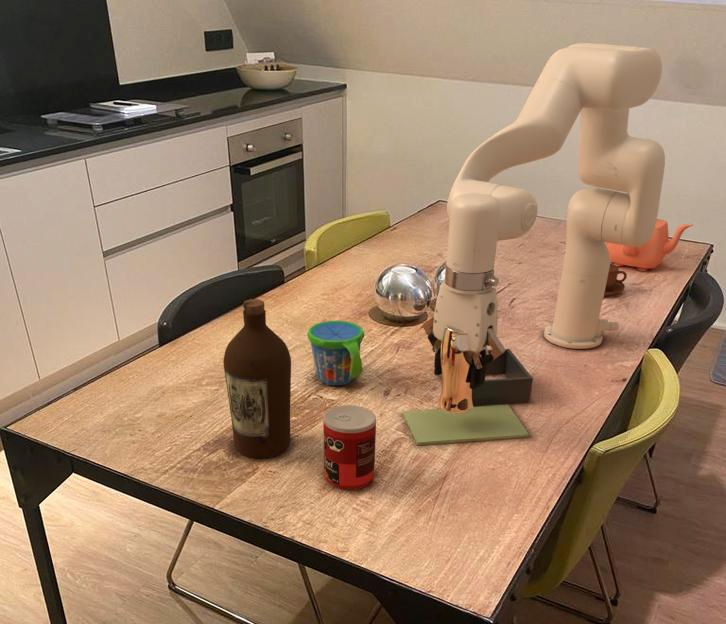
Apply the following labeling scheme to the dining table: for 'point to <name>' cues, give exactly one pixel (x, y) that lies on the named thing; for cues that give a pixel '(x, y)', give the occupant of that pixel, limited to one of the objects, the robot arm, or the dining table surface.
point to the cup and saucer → (614, 281)
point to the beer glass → (456, 372)
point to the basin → (504, 382)
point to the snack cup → (336, 351)
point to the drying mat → (464, 425)
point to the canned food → (349, 446)
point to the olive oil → (258, 386)
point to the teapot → (647, 248)
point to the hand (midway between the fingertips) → (458, 378)
